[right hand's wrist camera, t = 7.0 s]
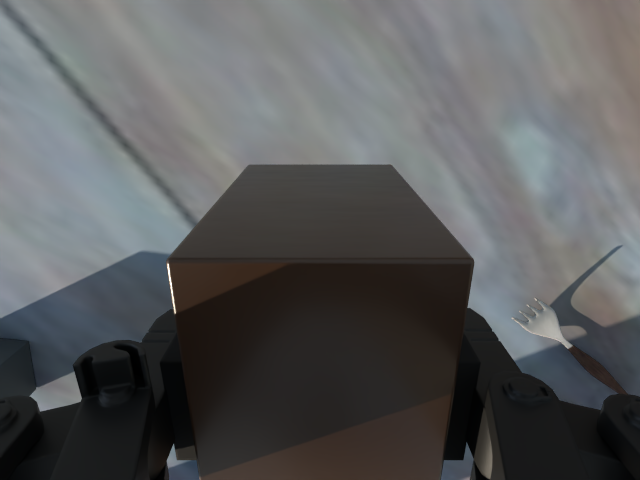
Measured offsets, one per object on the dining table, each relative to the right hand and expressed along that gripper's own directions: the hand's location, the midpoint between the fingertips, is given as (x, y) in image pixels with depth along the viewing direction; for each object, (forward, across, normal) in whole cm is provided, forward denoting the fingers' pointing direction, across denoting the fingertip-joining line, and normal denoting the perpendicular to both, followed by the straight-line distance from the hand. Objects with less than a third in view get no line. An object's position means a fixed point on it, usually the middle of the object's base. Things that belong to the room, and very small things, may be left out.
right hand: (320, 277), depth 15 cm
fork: (+15, +21, -14) cm, 29 cm away
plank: (+1, 0, -11) cm, 11 cm away
